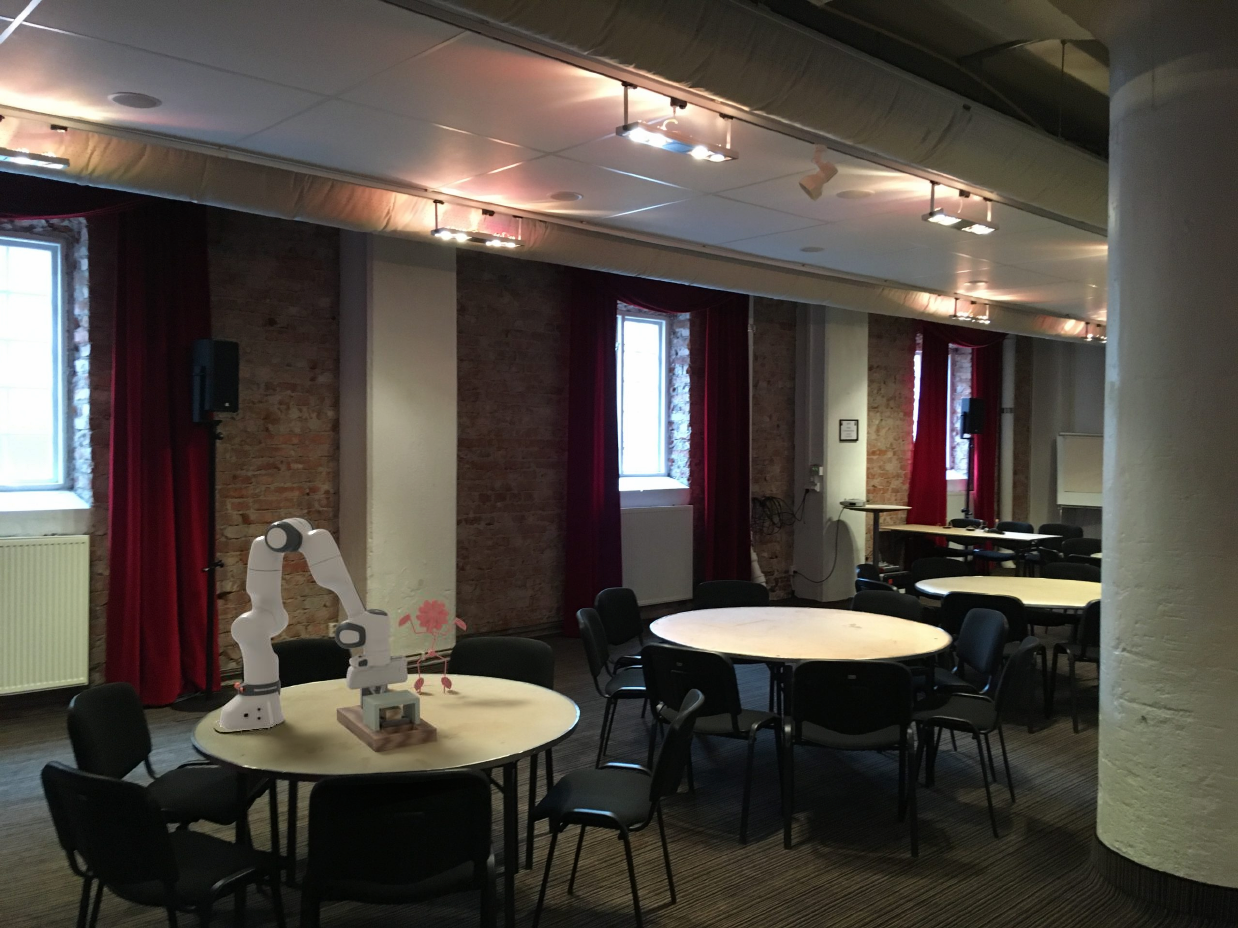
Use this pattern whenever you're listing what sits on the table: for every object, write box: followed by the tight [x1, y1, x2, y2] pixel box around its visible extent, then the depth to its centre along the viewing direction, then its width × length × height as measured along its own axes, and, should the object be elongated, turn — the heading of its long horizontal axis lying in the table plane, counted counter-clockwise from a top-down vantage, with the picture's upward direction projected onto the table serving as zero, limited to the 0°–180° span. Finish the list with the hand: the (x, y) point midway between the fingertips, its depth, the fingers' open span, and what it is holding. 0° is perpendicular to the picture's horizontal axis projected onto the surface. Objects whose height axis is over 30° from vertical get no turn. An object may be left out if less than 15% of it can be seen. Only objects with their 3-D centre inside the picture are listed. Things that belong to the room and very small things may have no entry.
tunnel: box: [363, 689, 421, 731], centre depth 314 cm, size 15×12×8 cm
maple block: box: [381, 706, 401, 721], centre depth 314 cm, size 5×5×5 cm
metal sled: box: [359, 684, 410, 728], centre depth 320 cm, size 9×22×10 cm, turn 32°
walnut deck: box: [336, 704, 438, 753], centre depth 320 cm, size 20×41×4 cm, turn 32°
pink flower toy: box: [398, 599, 467, 695], centre depth 372 cm, size 15×26×35 cm, turn 96°
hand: (377, 698), depth 325 cm, fingers closed
